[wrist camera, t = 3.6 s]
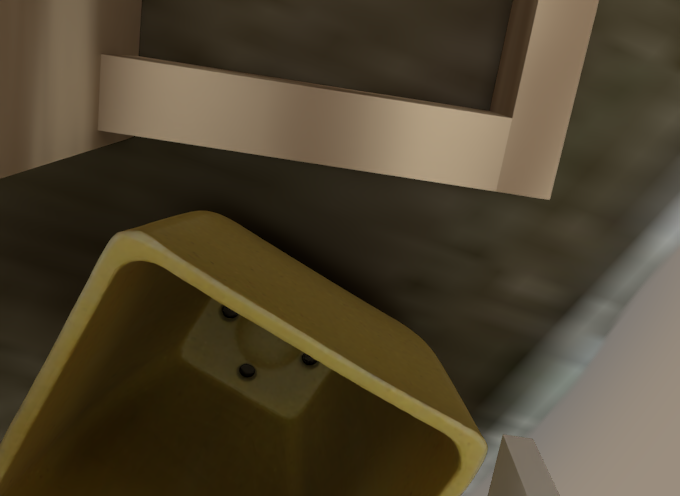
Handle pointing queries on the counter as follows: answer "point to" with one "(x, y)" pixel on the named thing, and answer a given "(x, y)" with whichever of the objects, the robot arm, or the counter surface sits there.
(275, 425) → the flower pot
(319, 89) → the board
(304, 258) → the counter surface
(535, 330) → the counter surface
